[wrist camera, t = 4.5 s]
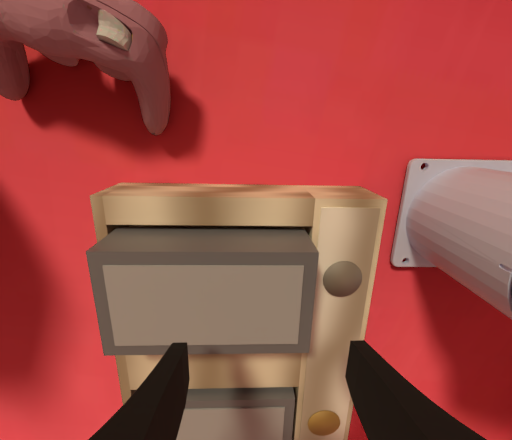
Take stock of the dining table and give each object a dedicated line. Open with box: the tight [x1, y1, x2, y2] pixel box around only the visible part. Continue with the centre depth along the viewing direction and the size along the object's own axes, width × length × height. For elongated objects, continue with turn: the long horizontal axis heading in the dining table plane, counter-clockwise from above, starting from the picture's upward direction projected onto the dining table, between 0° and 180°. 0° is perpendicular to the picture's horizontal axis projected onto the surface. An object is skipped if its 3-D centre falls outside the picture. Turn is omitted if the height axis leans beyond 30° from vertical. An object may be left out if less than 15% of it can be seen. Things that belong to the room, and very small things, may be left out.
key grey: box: [86, 227, 319, 356], centre depth 16 cm, size 11×6×4 cm, turn 89°
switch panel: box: [90, 183, 388, 440], centre depth 21 cm, size 16×22×4 cm
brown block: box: [176, 387, 295, 440], centre depth 22 cm, size 11×6×4 cm, turn 89°
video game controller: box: [0, 0, 171, 135], centre depth 14 cm, size 10×5×7 cm, turn 76°
